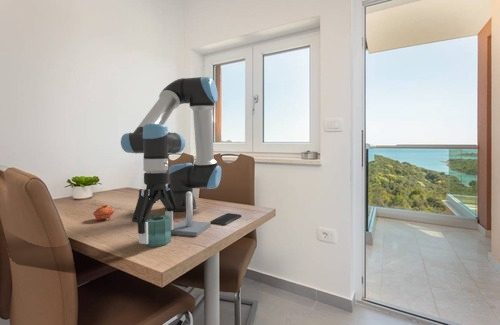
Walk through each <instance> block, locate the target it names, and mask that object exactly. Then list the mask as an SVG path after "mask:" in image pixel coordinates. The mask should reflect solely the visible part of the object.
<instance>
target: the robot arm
mask: <svg viewBox="0 0 500 325" xmlns="http://www.w3.org/2000/svg"><path fill="white" fill-rule="evenodd" d="M158 97H159V98H158V99H157V101H156V102H155V104H154V105H153V106H152V107H151V109H150V110H149V111H148V113H147V114H146V116H144V118H143V119H142V120H141V122H140V124H139V125H138V126H137V127H136V129H135V130H133V132H127V133H124V134H122V136H121V138H120V146H121V149H122V150H123V152H126V153H128V154H143V163H142V164H143V165H142V166H143V169H142V170H143V171H144V173H143V183H144V185H146V189H145V188H144V189H143V188H139V190H138V198H137V203H136V205H135V209H134V212H133V216H132V218H131V219H132V220H131V222H132V223H136V224H137V234H138V244H141V245H142V244H143V245H146V244H148V222H146V220H147V218H148V217H150V216H149V215H150V213H151V211H152V209H153V206H154V205H155V204H156V203H157V202H159V200H160V202H161V204H162V205H163V208H165V209H166V210H165V211H164V216H169V217H170V226H171V230H173V226H174V212H186V193H187V192H191V193H192V205H193V210H195V209H196V208H197V200H196V199H195V198H196V197H195V196H194V192H193V189H204V190H206V189H207V190H212V189H213V190H214V189H217V188H218V187H219V185H220V182H221V179H222V167H221V165H218V161H217V160H216V159H215V158H214V157H215V154H214V138H213V136H214V134H213V120H212V119H213V118H212V117H213V116H212V111H213V108H215V103H217V102H218V99H219V94H218V89H217V85H216V83H215V80H214V79H213V78H211V77H208V76H207V77H205V76H199V77H187V78H186V77H185V78H184V77H183V78H178V79H175V80H174V81H172V82H171V83H169V84H168V85H166V86H165V87H164V88H163V89H162V90H161V92H160V93H159V96H158ZM182 104H189V108H190V109H191V110H192V111H193V125H194V126H193V128H194V141H195V142H194V143H195V156H196V158H195V161H194V162H193V163H192V162H186V163H185V162H184V163H179V164H178V163H177V164H172V165H170V166H169V154H178V153H180V152H182V151H183V150H184V149H185V147H186V139H185V138H184V136H183V135H182V134H180V133H177V132H170V131H169V130H168V126H167V125H166V124H165V123H166V122H167V120H168V118H169V117H170V115H171V114H172V113H173V111H174V109H177V108H179V106H180V105H182ZM167 171H168V172H167Z"/></svg>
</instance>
